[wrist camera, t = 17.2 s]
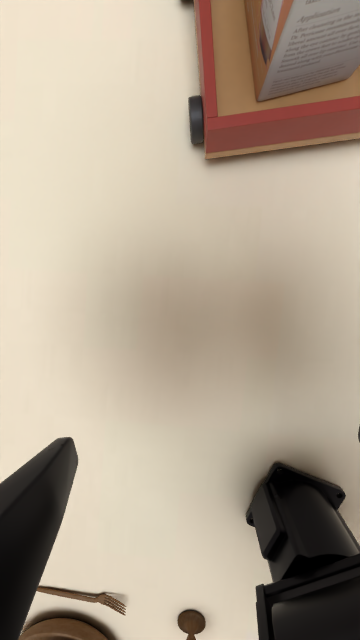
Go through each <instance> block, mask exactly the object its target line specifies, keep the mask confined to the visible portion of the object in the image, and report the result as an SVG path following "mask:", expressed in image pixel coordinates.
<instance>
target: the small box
mask: <svg viewBox="0 0 360 640" xmlns="http://www.w3.org/2000/svg"><path fill="white" fill-rule="evenodd" d="M244 2H245V10H246V18H247V27H248V36H249V45H250V53H251V61H252V69H253V78H254V86H255V95H256V100H257V101H263V100H267V99H270V98H274V97H279V96H283V95H287V94H291V93H295V92H298V91H302V90H306V89H310V88H314V87H318V86H322V85H326V84H330V83H333V82H337V81H341V80H345V79H348V78H349V77H350V76H351V75H352V74H353V72H354V71H355V70H356V69H357V67H358V66H359V65H360V0H244Z"/></svg>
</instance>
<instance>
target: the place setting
mask: <svg viewBox="0 0 360 640" xmlns="http://www.w3.org/2000/svg"><path fill="white" fill-rule="evenodd" d="M36 591H38V592H43V593H47V594H52V595H57V596H62V597H67V598H72V599H77V600H82V601H87V602H93V603H96V602H99V603H101V604H103V605H106V606H108V607H110V608H112V609H114V610H115V611H117V612H119V613H121V614H123V615H125V614H124V613H122V612H125V611H124V610H122V609H125V608H124V607H122V606H125V605H124V604H122V603H121V602H119V601H118V600H116V599H114V598H112V597H111V596H109V595H106V594H101V595H99V596H98V597H96V598H92V597H87V596H82V595H78V594H73V593H68V592H63V591H58V590H53V589H48V588H39V587H38V588H37V590H36ZM107 597H108V598H107ZM109 598H110V599H109ZM111 599H112V600H113V601H112V600H111ZM107 600H108V601H107ZM109 601H110V602H109ZM114 601H115V602H114ZM111 602H112V603H111ZM116 602H117V603H116ZM107 603H108V604H107ZM118 603H119V604H120V605H119V604H118ZM109 604H110V605H109ZM114 604H115V605H114ZM111 605H112V606H111ZM116 605H117V606H116ZM121 605H122V606H121ZM118 606H119V607H121V608H122V609H121V608H119V607H118ZM114 607H115V608H114ZM125 607H126V606H125ZM116 608H117V609H116ZM118 609H119V610H121V611H122V612H121V611H119V610H118ZM125 610H126V609H125ZM125 613H126V612H125ZM178 626H179V628H180V629H181V630H182V631H183V632H185V633H188V637H187V639H186V640H196V638H195V636H194V634H198V633H200V632H202V631H203V630H204V628H205V619H204V617H203V616H202V615H201V614H200V613H198V612H196V611H185V612H183V613H181V614H180V615H179V617H178ZM18 640H108V639H107V638H106V637H105V636H104V635H103V634H102V633H101V632H99V631H98V630H97V629H95V628H94V627H92V626H91V625H89V624H87V623H84V622H82V621H79V620H75V619H69V618H55V619H49V620H44V621H42V622H39V623H37V624H35V625H33V626H31V627H30V628H29V629H27V630H26V631H25V632H24V633H23V634H22V635H21V636H20V637H19V639H18Z"/></svg>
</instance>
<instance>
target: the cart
mask: <svg viewBox="0 0 360 640" xmlns="http://www.w3.org/2000/svg"><path fill="white" fill-rule="evenodd" d="M194 12H195V25H196V39H197V53H198V67H199V81H200V95H201V96H200V95H199V96H193V97H189V119H190V132H191V142H192V144H196V143H202V142H203V140H204V150H205V159H211V158H218V157H226V156H233V155H240V154H248V153H255V152H262V151H270V150H277V149H285V148H292V147H299V146H307V145H314V144H321V143H329V142H336V141H344V140H351V139H358V138H360V65H359V66H358V67H357V69H356V70H355V71H354V72H353V74H352V75H351V76H350V77H349V78H348V79H345V80H341V81H337V82H333V83H330V84H326V85H322V86H318V87H314V88H310V89H306V90H302V91H298V92H295V93H291V94H287V95H283V96H279V97H274V98H270V99H267V100H263V101H257V100H256V95H255V86H254V78H253V69H252V61H251V53H250V45H249V36H248V27H247V18H246V10H245V2H244V0H194Z"/></svg>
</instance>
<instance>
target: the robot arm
mask: <svg viewBox="0 0 360 640" xmlns="http://www.w3.org/2000/svg"><path fill="white" fill-rule="evenodd" d="M358 439H359V442H360V426H359V432H358ZM77 466H78V455H77V452H76V448H75V444H74V441H73V439H72V438H71V437H64V438H58V439H56V440H55V441H54V442H52V443H51V444H50V445H48V446H47V447H46V448H45V449H43V450H42V451H41V452H40V453H38V454H37V455H36V456H35V457H33V458H32V459H31V460H29V461H28V462H27V463H26V464H24V465H23V466H22V467H21V468H19V469H18V470H17V471H16V472H14V473H13V474H12V475H10V476H9V477H8V478H7V479H5V480H4V481H3V482H2V483H0V640H18V639H19V636H20V633H21V631H22V628H23V625H24V623H25V620H26V617H27V615H28V612H29V609H30V606H31V604H32V601H33V598H34V596H35V593H36V590H37V588H38V585H39V582H40V580H41V577H42V574H43V572H44V569H45V566H46V564H47V561H48V558H49V555H50V553H51V550H52V547H53V545H54V542H55V539H56V537H57V534H58V531H59V528H60V526H61V523H62V520H63V516H64V513H65V509H66V506H67V502H68V498H69V495H70V491H71V488H72V484H73V480H74V477H75V473H76V469H77ZM278 469H281V470H279V471H277V470H278ZM338 493H339V494H338ZM345 496H346V495H345V493H344V491H343V490H342V488H340V487H338V486H336V485H333V484H331V483H328V482H326V481H323V480H321V479H318V478H316V477H313V476H311V475H308V474H306V473H303V472H301V471H298V470H296V469H293V468H291V467H288V466H286V465H283V464H281V463H276V464H274V465H273V466H272V468H271V470H270V472H269V474H268V476H267V477H266V479H265V481H264V483H263V484H262V485H261V486H260V488H259V490H258V492H257V494H256V495H255V497H254V499H253V501H252V503H251V505H250V508H249V510H248V512H247V514H246V521H247V523H248V524H249V525H251V526H253V527H255V528H256V533H257V537H258V541H259V545H260V549H261V553H262V556H263V558H264V559H267V560H268V564H269V568H270V572H271V576H272V580H273V583H270V584H267V585H264V584H261V585H258V586H256V596H257V602H256V610H257V622H258V635H259V640H360V546H359V544H358V542H357V541H356V539H355V537H354V536H353V534H352V532H351V531H350V529H349V528H348V526H347V524H346V523H345V521H344V519H343V518H342V516H341V515H340V513H339V511H338V508H339V506H340V505H341V503H342V502H343V500H344V499H345ZM252 518H253V519H252Z"/></svg>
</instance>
